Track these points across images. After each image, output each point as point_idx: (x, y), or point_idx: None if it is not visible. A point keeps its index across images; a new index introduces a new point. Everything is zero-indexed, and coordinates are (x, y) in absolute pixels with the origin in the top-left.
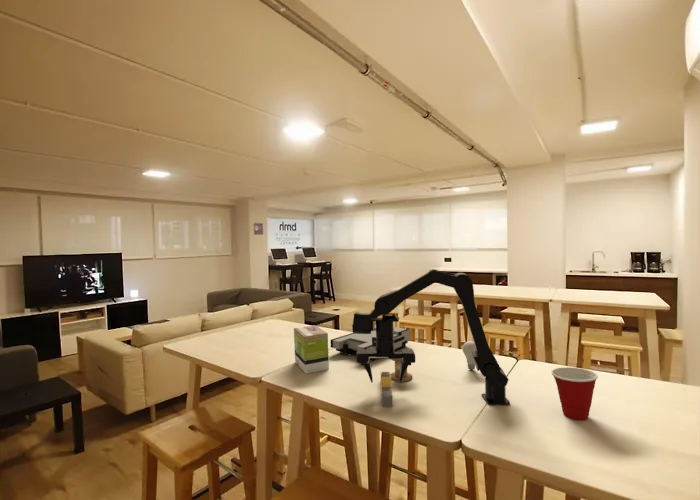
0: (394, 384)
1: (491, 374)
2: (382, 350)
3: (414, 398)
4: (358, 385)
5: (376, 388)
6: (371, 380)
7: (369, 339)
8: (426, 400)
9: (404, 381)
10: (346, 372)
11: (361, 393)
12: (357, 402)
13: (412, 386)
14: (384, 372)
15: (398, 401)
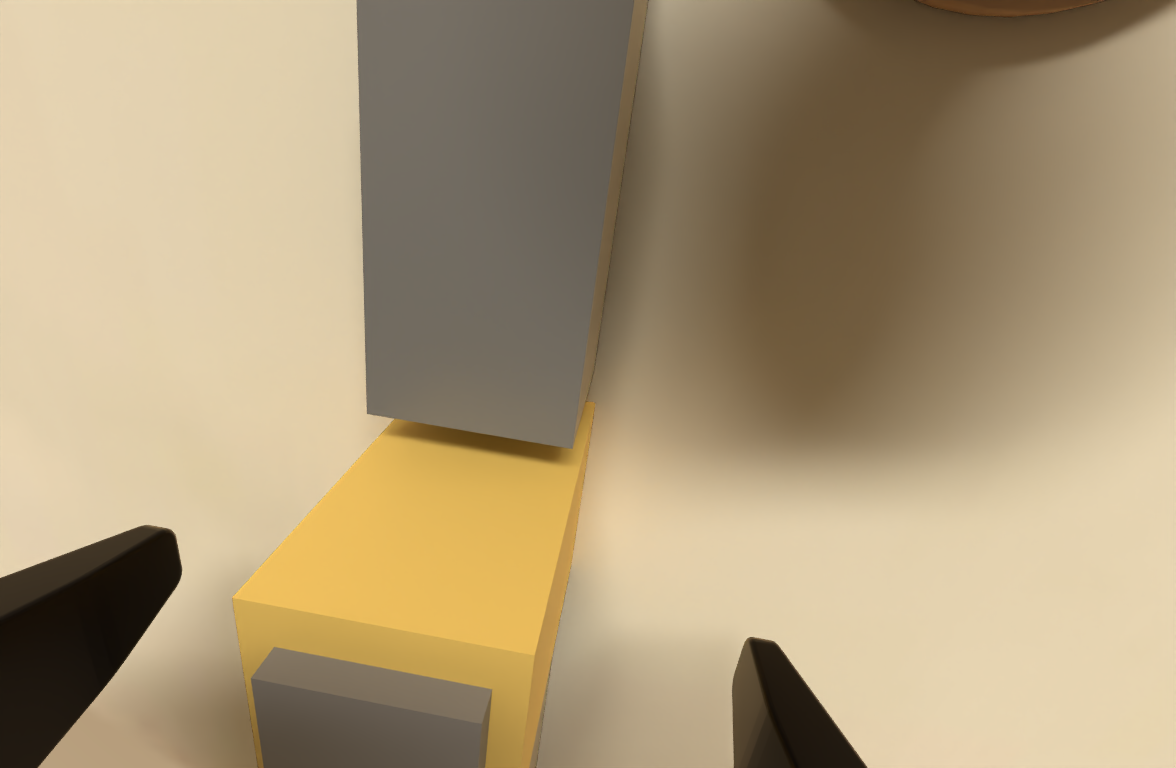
0: (731, 153)
1: None
2: None
3: (864, 688)
4: (13, 102)
5: (356, 292)
6: (125, 630)
7: None
8: (996, 756)
9: (1034, 11)
10: None
11: (142, 430)
12: (147, 635)
13: (1068, 311)
14: (331, 732)
15: (626, 707)
